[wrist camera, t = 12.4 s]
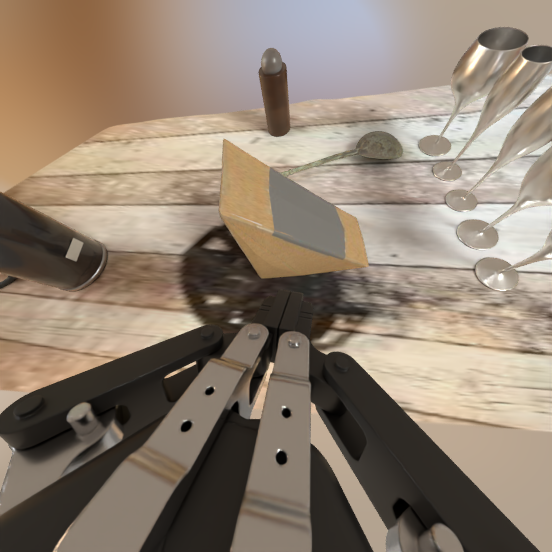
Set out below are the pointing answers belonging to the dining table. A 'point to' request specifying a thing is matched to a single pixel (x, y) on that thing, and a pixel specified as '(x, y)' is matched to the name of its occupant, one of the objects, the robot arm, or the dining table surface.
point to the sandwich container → (284, 221)
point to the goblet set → (519, 142)
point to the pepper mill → (275, 92)
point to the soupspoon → (364, 150)
